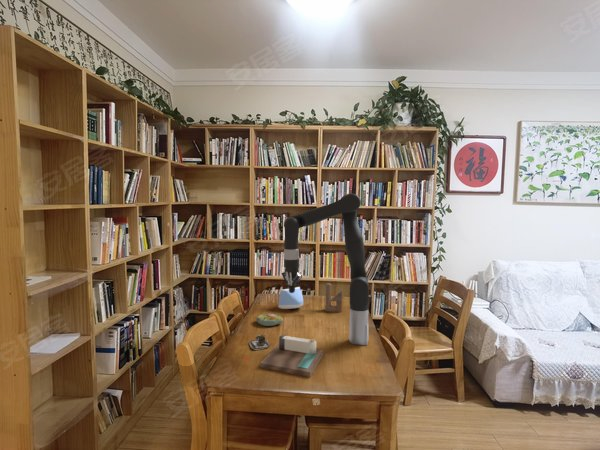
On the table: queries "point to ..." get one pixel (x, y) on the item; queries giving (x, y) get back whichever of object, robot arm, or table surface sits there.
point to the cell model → (269, 319)
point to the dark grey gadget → (259, 343)
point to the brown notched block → (336, 298)
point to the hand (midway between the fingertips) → (291, 292)
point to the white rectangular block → (297, 344)
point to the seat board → (292, 361)
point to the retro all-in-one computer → (290, 299)
